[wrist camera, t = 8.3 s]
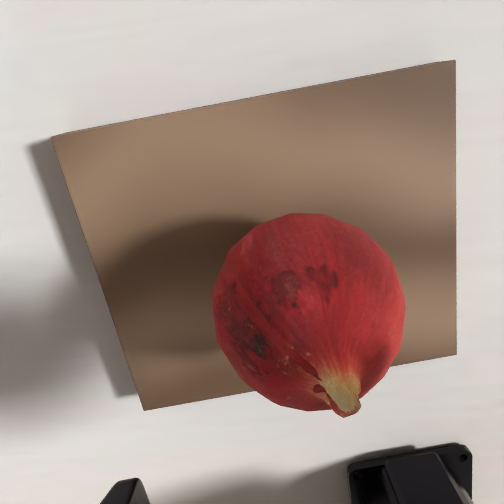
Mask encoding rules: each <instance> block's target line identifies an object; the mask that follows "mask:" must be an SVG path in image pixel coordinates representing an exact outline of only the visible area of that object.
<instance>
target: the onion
mask: <svg viewBox="0 0 504 504" xmlns="http://www.w3.org/2000/svg"><path fill="white" fill-rule="evenodd" d="M211 297H212V306H213V315H214V323H215V331H216V339H217V343H218V345H219V346H220V348H221V349H222V351H223V352H224V354H225V355H226V357H227V358H228V360H229V361H230V363H231V365H232V366H233V368H234V369H235V371H236V372H237V374H238V375H239V377H240V378H241V379H242V380H243V381H244V382H245V383H246V384H247V385H248V386H249V387H251V388H252V389H254V390H255V391H257V392H258V393H260V394H261V395H263V396H264V397H266V398H267V399H269V400H270V401H272V402H273V403H276V404H278V405H280V406H285V407H289V408H294V409H299V410H304V411H319V410H331V409H332V410H333V411H334V412H335V413H336V414H338V415H339V416H341V417H343V418H345V417H347V416H350V415H353V414H355V413H357V411H358V410H359V409H360V408H361V404H360V401H359V399H360V398H362V397H363V396H364V395H365V394H366V393H367V392H368V391H369V390H370V389H372V388H373V387H374V386H375V385H376V384H377V383H378V382H379V381H380V380H381V379H382V378H383V377H384V376H385V374H386V372H387V371H388V369H389V367H390V366H391V364H392V362H393V360H394V359H395V357H396V355H397V353H398V352H399V349H400V346H401V343H402V337H403V329H404V320H405V312H406V304H405V296H404V293H403V290H402V287H401V284H400V281H399V278H398V275H397V272H396V269H395V266H394V263H393V262H392V260H391V259H390V257H389V256H388V254H387V253H386V252H385V251H384V250H383V249H382V248H381V247H380V246H379V245H378V244H377V243H376V242H375V241H374V240H373V239H372V238H371V237H370V236H369V235H368V234H367V233H365V232H364V231H363V230H362V229H360V228H357V227H355V226H352V225H349V224H347V223H345V222H342V221H340V220H337V219H335V218H333V217H330V216H328V215H325V214H312V213H290V214H287V215H284V216H281V217H278V218H276V219H273V220H270V221H267V222H264V223H262V224H259V225H256V226H255V227H254V228H253V229H252V230H251V231H250V232H248V233H247V234H246V235H245V236H244V237H243V238H241V239H240V240H239V241H238V242H237V243H236V244H235V245H233V246H232V247H231V248H230V249H229V251H228V253H227V256H226V258H225V261H224V263H223V265H222V268H221V270H220V273H219V275H218V278H217V280H216V283H215V285H214V288H213V290H212V293H211Z"/></svg>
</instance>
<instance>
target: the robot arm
mask: <svg viewBox="0 0 504 504" xmlns="http://www.w3.org/2000/svg"><path fill="white" fill-rule="evenodd" d="M356 473H357V474H356ZM347 478H348V486H349V494H350V501H351V504H473V502H472V454H471V452H470V450H469V449H468V448H467V447H466V446H465V445H454V446H449V447H443V448H437V449H432V450H426V451H420V452H415V453H409V454H403V455H398V456H392V457H386V458H381V459H375V460H369V461H364V462H358V463H354V464H351V465H350V466H349V467H348V468H347ZM100 504H150V502H149V499H148V497H147V494H146V491H145V489H144V486H143V484H142V482H141V480H140V479H139V478H132V479H126V480H121V481H118V482H117V483H116V484H115V485H114V486H113V487H112V488H111V490H110V491H109V492H108V494H107V495H106V496H105V498H104V499H103V500H102V502H101V503H100Z"/></svg>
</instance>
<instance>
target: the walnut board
mask: <svg viewBox="0 0 504 504" xmlns="http://www.w3.org/2000/svg"><path fill="white" fill-rule="evenodd" d="M51 139H52V142H53V145H54V148H55V151H56V154H57V157H58V160H59V163H60V166H61V169H62V172H63V174H64V177H65V180H66V183H67V186H68V189H69V192H70V195H71V198H72V201H73V204H74V207H75V210H76V213H77V216H78V219H79V222H80V224H81V227H82V230H83V233H84V236H85V239H86V242H87V245H88V248H89V251H90V254H91V257H92V260H93V263H94V266H95V269H96V272H97V274H98V277H99V280H100V283H101V286H102V289H103V292H104V295H105V298H106V301H107V304H108V307H109V310H110V313H111V316H112V319H113V321H114V324H115V327H116V330H117V333H118V336H119V339H120V342H121V345H122V348H123V351H124V354H125V357H126V360H127V363H128V366H129V369H130V371H131V374H132V377H133V380H134V383H135V386H136V389H137V392H138V395H139V398H140V401H141V404H142V407H143V410H144V411H146V410H152V409H157V408H163V407H168V406H174V405H179V404H185V403H191V402H196V401H202V400H207V399H213V398H218V397H224V396H230V395H235V394H241V393H246V392H252V391H255V390H254V389H252V388H251V387H249V386H248V385H247V384H246V383H245V382H244V381H243V380H242V379H241V378H240V377H239V375H238V374H237V372H236V371H235V369H234V368H233V366H232V365H231V363H230V361H229V360H228V358H227V357H226V355H225V354H224V352H223V351H222V349H221V348H220V346H219V345H218V343H217V339H216V331H215V323H214V315H213V306H212V297H211V293H212V290H213V288H214V285H215V283H216V280H217V278H218V275H219V273H220V270H221V268H222V265H223V263H224V261H225V258H226V256H227V253H228V251H229V249H230V248H231V247H232V246H233V245H235V244H236V243H237V242H238V241H239V240H240V239H241V238H243V237H244V236H245V235H246V234H247V233H248V232H250V231H251V230H252V229H253V228H254V227H255V226H256V225H259V224H262V223H264V222H267V221H270V220H273V219H276V218H278V217H281V216H284V215H287V214H290V213H312V214H325V215H328V216H330V217H333V218H335V219H337V220H340V221H342V222H345V223H347V224H349V225H352V226H355V227H357V228H360V229H362V230H363V231H364V232H365V233H367V234H368V235H369V236H370V237H371V238H372V239H373V240H374V241H375V242H376V243H377V244H378V245H379V246H380V247H381V248H382V249H383V250H384V251H385V252H386V253H387V254H388V256H389V257H390V259H391V260H392V262H393V263H394V266H395V269H396V272H397V275H398V278H399V281H400V284H401V287H402V290H403V293H404V296H405V304H406V312H405V320H404V329H403V337H402V343H401V346H400V349H399V352H398V353H397V355H396V357H395V359H394V360H393V362H392V364H391V366H397V365H402V364H408V363H413V362H419V361H424V360H430V359H435V358H441V357H447V356H452V355H457V329H456V60H450V61H442V62H434V63H429V64H424V65H418V66H413V67H408V68H403V69H397V70H392V71H387V72H382V73H376V74H371V75H366V76H361V77H355V78H350V79H345V80H340V81H334V82H329V83H324V84H319V85H313V86H308V87H303V88H298V89H292V90H287V91H282V92H277V93H271V94H266V95H261V96H256V97H250V98H245V99H240V100H235V101H229V102H224V103H219V104H214V105H208V106H203V107H198V108H193V109H187V110H182V111H177V112H172V113H166V114H161V115H156V116H151V117H146V118H140V119H135V120H130V121H125V122H119V123H114V124H109V125H104V126H98V127H93V128H88V129H83V130H77V131H72V132H67V133H63V134H60V135H56V136H52V137H51ZM391 366H390V367H391Z"/></svg>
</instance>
